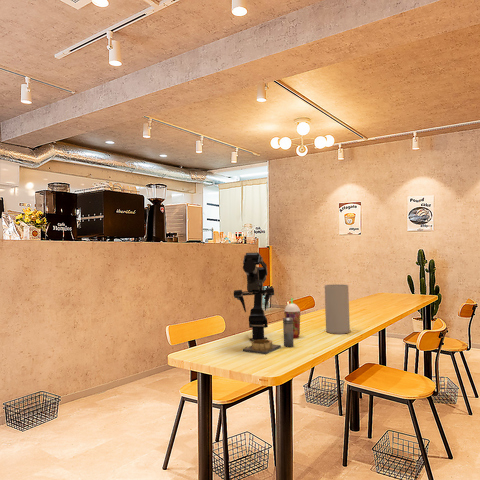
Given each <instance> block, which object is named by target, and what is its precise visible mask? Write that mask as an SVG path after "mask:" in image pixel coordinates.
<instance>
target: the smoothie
mask: <svg viewBox="0 0 480 480" xmlns="http://www.w3.org/2000/svg"><path fill="white" fill-rule="evenodd" d="M290 300H291V301H290V302H291V303H288V304H287V305H286V306H285V307H284V308H285V309H283V312H284V313H283V314H284V318H286V317H290V318H293V339H296V338H299V337H300V333H301V331H300V329H301V309H300V307H299V306H298V305H297V304H296V303H294V302H293V297H291V299H290Z"/></svg>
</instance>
